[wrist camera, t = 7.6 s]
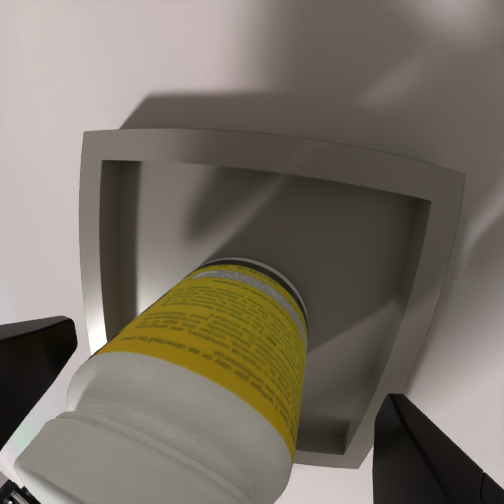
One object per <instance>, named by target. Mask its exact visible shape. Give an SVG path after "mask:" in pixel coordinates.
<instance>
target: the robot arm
mask: <svg viewBox="0 0 504 504" xmlns="http://www.w3.org/2000/svg"><path fill="white" fill-rule="evenodd" d="M77 345H78V341H77V336H76V330H75V324H74V322H73V320H72V319H70V318H68V317H66V316H55V317H49V318H43V319H37V320H30V321H24V322H18V323H11V324H4V325H0V451H1V449H2V448H3V447H4V445H5V444H6V443H7V441H8V440H9V439H10V437H11V436H12V434H13V433H14V432H15V431H16V429H17V428H18V427H19V425H20V424H21V423H22V421H23V420H24V419H25V417H26V416H27V415H28V414H29V412H30V411H31V410H32V409H33V407H34V406H35V405H36V403H37V402H38V401H39V400H40V399H41V397H42V396H43V395H44V394H45V392H46V391H47V390H48V389H49V387H50V386H51V385H52V384H53V382H54V381H55V379H56V378H57V377H58V375H59V374H60V372H61V371H62V369H63V368H64V366H65V365H66V363H67V362H68V360H69V359H70V357H71V356H72V354H73V353H74V352H75V350H76V348H77ZM372 477H373V504H504V489H503V488H502V487H501V486H499V485H498V484H497V483H496V482H495V481H494V480H493V479H492V478H491V477H490V476H489V475H488V474H487V473H485V472H484V473H483V470H482V469H481V468H480V467H479V466H478V465H477V464H476V463H475V462H474V461H473V460H472V459H471V458H470V457H469V456H468V455H467V454H465V453H464V452H463V451H462V450H461V449H460V448H459V447H458V446H457V445H456V444H455V443H454V442H453V441H452V440H451V439H450V438H449V437H448V436H447V435H446V434H444V433H443V432H442V431H441V430H440V429H439V428H438V427H437V426H436V425H435V424H434V423H433V422H432V421H431V420H430V419H429V418H428V417H427V416H426V415H425V414H423V413H422V412H421V411H420V410H419V409H418V408H417V407H416V406H415V405H414V404H413V403H412V402H411V401H410V400H409V399H408V398H407V397H406V396H405V395H403V394H399V393H389V394H387V395H386V397H385V399H384V401H383V403H382V405H381V407H380V409H379V411H378V413H377V415H376V418H375V424H374V450H373V468H372ZM14 495H16V496H17V497H18V498H20V499H21V500H22V501H23V502H24V503H25V504H41V503H40V502H39V501H38V500H37V499H36V498H35V497H34V496H33V495H32V494H31V493H30V492H29V490H28V489H27V488H26V487H25V486H23V487H22V488H21V489H20V488H19V487H18V485H17V484H16V483H15V482H12V481H11V480H8V481H7V482H6V483H5V484H4V485H3V486H2V487H1V488H0V504H8V503H9V504H20V503H19V502H18V501H17V500H16V499H15V498H14V497H13V496H14Z"/></svg>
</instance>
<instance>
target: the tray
mask: <svg viewBox="0 0 504 504" xmlns="http://www.w3.org/2000/svg"><path fill="white" fill-rule="evenodd" d="M464 182H465V174H464V173H461V172H458V171H455V170H451V169H448V168H444V167H441V166H437V165H434V164H430V163H426V162H422V161H419V160H415V159H411V158H406V157H402V156H398V155H394V154H389V153H385V152H380V151H375V150H370V149H365V148H360V147H355V146H350V145H344V144H338V143H332V142H326V141H319V140H313V139H305V138H298V137H290V136H282V135H273V134H263V133H252V132H239V131H225V130H205V129H117V130H99V131H85V132H84V135H83V144H82V155H81V169H80V189H79V245H80V265H81V279H82V290H83V300H84V309H85V316H86V324H87V331H88V337H89V343H90V349H91V355H93V354H94V352H95V351H97V350H98V349H100V348H101V347H102V346H103V345H105V344H106V343H107V342H108V341H109V340H110V339H111V338H112V337H113V336H114V335H116V334H117V333H118V332H119V331H121V330H122V329H123V328H125V327H126V326H127V325H128V324H129V323H130V322H132V321H133V320H134V319H135V318H137V317H138V316H139V315H140V314H141V313H142V312H143V311H144V310H146V308H148V307H149V306H150V305H152V304H153V303H154V302H155V301H157V300H158V299H159V298H160V297H162V296H163V295H164V294H165V293H166V292H168V291H169V290H170V289H171V288H172V287H174V286H175V285H176V284H178V283H179V282H180V281H181V280H182V279H184V278H185V277H186V276H187V275H188V274H190V273H191V272H192V271H194V270H195V269H196V268H198V267H200V266H201V265H203V264H205V263H208V262H210V261H213V260H217V259H222V258H235V257H236V258H246V259H251V260H255V261H258V262H261V263H263V264H266V265H268V266H270V267H272V268H274V269H275V270H277V271H278V272H280V273H281V274H282V275H283V276H285V277H286V278H287V279H288V280H289V281H290V282H291V283H292V284H293V285H294V287H295V288H296V289H297V291H298V292H299V294H300V296H301V298H302V300H303V302H304V305H305V308H306V311H307V316H308V344H307V352H306V363H305V370H304V380H303V389H302V398H301V407H300V415H299V423H298V431H297V439H296V447H295V454H294V461H293V463H297V464H304V465H313V466H322V467H334V468H349V469H359V467H360V465H361V464H362V462H363V461H364V459H365V458H366V456H367V455H368V453H369V451H370V450H371V448H372V446H373V445H374V424H375V418H376V415H377V413H378V411H379V409H380V407H381V405H382V403H383V401H384V399H385V397H386V395H387V394H389V393H399V394H401V393H402V391H403V389H404V387H405V384H406V382H407V380H408V378H409V376H410V374H411V371H412V369H413V367H414V364H415V362H416V360H417V357H418V355H419V352H420V350H421V347H422V345H423V342H424V340H425V337H426V334H427V332H428V329H429V326H430V324H431V321H432V318H433V315H434V312H435V309H436V306H437V303H438V300H439V296H440V293H441V290H442V287H443V283H444V280H445V276H446V272H447V269H448V265H449V261H450V257H451V253H452V249H453V244H454V240H455V235H456V230H457V225H458V220H459V215H460V209H461V203H462V196H463V190H464Z"/></svg>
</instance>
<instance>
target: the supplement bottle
mask: <svg viewBox="0 0 504 504" xmlns="http://www.w3.org/2000/svg"><path fill="white" fill-rule="evenodd" d="M307 344H308V316H307V311H306V308H305V305H304V302H303V300H302V298H301V296H300V294H299V292H298V291H297V289H296V288H295V287H294V285H293V284H292V283H291V282H290V281H289V280H288V279H287V278H286V277H285V276H283V275H282V274H281V273H280V272H278V271H277V270H275V269H274V268H272V267H270V266H268V265H266V264H263V263H261V262H258V261H255V260H251V259H246V258H236V257H235V258H222V259H217V260H213V261H210V262H208V263H205V264H203V265H201V266H200V267H198V268H196V269H195V270H194V271H192V272H191V273H190V274H188V275H187V276H186V277H185V278H184V279H182V280H181V281H180V282H179V283H178V284H176V285H175V286H174V287H172V288H171V289H170V290H169V291H168V292H166V293H165V294H164V295H163V296H162V297H160V298H159V299H158V300H157V301H155V302H154V303H153V304H152V305H150V306H149V307H148V308H146V310H144V311H143V312H142V313H141V314H140V315H139V316H138V317H137V318H135V319H134V320H133V321H132V322H130V323H129V324H128V325H127V326H126V327H125V328H123V329H122V330H121V331H119V332H118V333H117V334H116V335H114V336H113V337H112V338H111V339H110V340H109V341H108V342H107V343H106V344H105V345H103V346H102V347H101V348H100V349H98V350H97V351H95V352H94V354H93V355H92V356H91V357H90V358H89V359H88V360H87V361H86V362H85V363H84V364H82V365H81V366H80V368H79V369H78V370H77V371H76V373H75V374H74V376H73V378H72V380H71V382H70V384H69V388H68V392H67V410H68V411H67V412H63V413H61V414H60V415H58V416H57V417H56V418H55V419H52V420H50V421H48V422H46V423H45V424H44V426H43V428H42V429H41V431H40V432H39V433H38V434H37V436H36V437H35V438H34V439H33V440H32V441H31V443H30V444H29V445H28V446H27V447H26V449H25V450H24V451H23V452H22V453H21V454H20V455H19V457H18V458H17V459H16V460H15V462H14V470H15V472H16V474H17V476H18V477H19V479H20V480H21V482H22V483H23V484H24V486H25V487H26V488H27V489H28V490H29V492H30V493H31V494H32V495H33V496H34V497H35V498H36V499H37V500H38V501H39V502H40V503H41V504H273V503H274V502H275V501H276V500H277V499H278V498H279V497H280V496H281V495H282V493H283V492H284V490H285V488H286V486H287V484H288V481H289V478H290V474H291V470H292V465H293V461H294V454H295V447H296V439H297V431H298V423H299V415H300V407H301V398H302V389H303V380H304V370H305V363H306V352H307Z"/></svg>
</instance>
